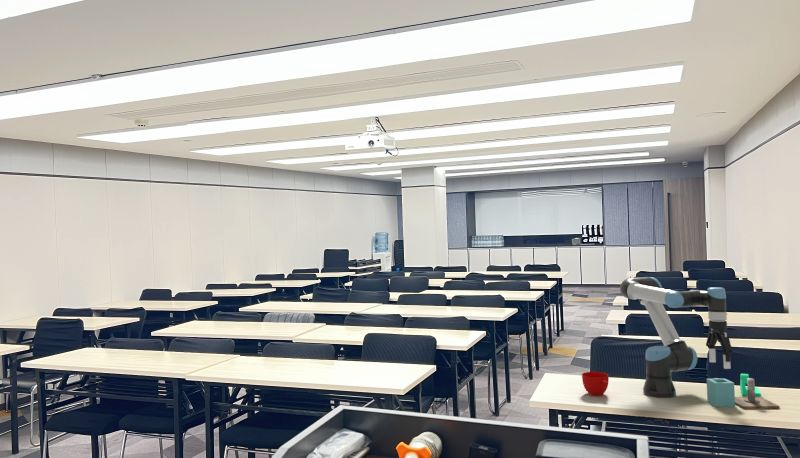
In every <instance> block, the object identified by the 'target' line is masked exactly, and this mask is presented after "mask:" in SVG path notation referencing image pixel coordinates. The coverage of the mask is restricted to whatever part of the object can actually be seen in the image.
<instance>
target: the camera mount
mask: <svg viewBox="0 0 800 458" xmlns="http://www.w3.org/2000/svg"><path fill="white" fill-rule="evenodd" d="M739 378H740V381H739V382H740V383H739V388H740V389H739V390H740V394H741V396H748V391H747V378H750V375H749V374H748V373H740V377H739ZM761 394H762V393H761V391H760V389H759V387H756V386H755V396H760V397H762V395H761Z"/></svg>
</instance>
